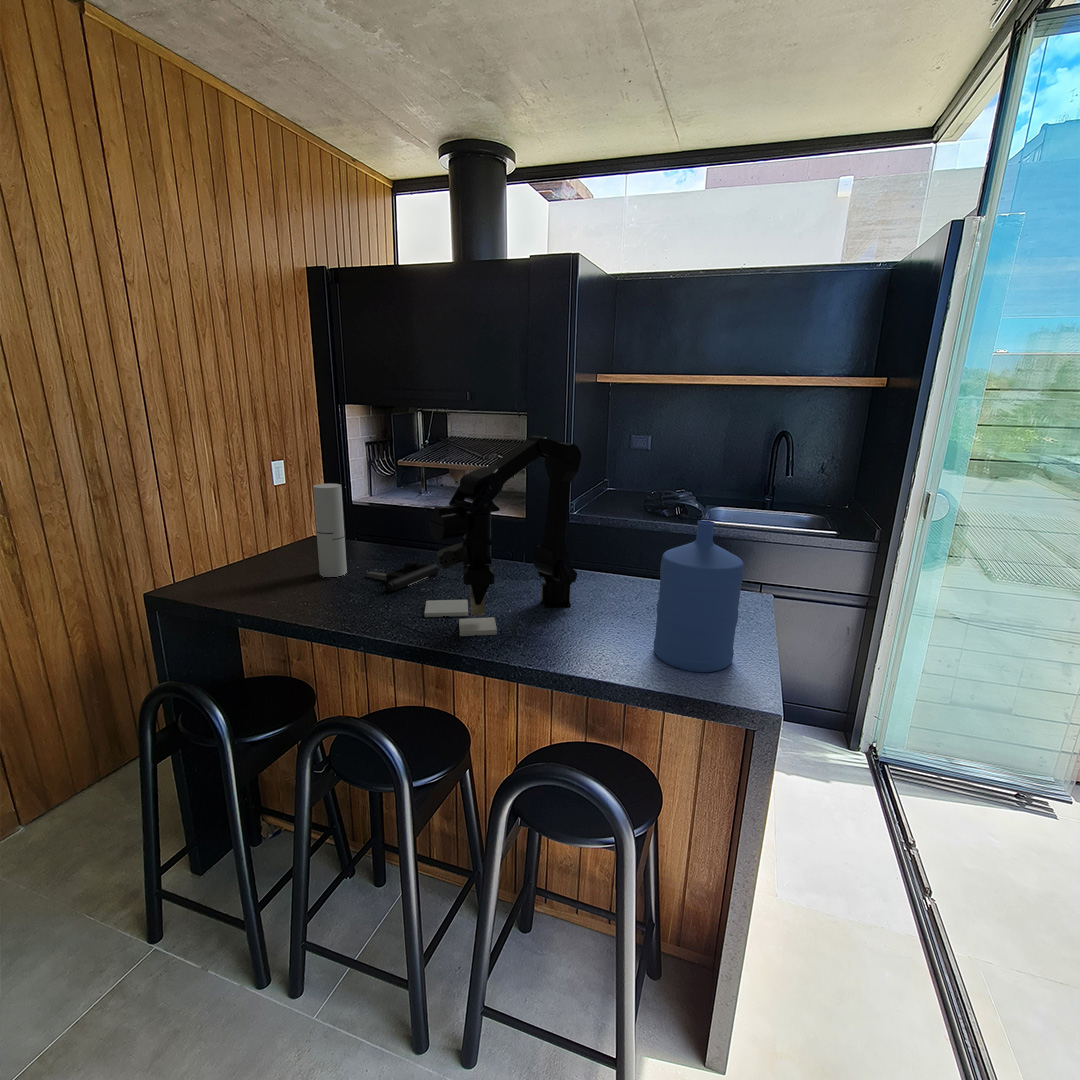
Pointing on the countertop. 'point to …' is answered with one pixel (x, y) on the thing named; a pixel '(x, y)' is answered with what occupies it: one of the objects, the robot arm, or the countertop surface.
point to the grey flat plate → (446, 608)
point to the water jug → (698, 604)
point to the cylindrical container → (330, 529)
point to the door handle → (406, 575)
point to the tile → (477, 626)
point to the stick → (477, 608)
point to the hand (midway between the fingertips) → (477, 601)
